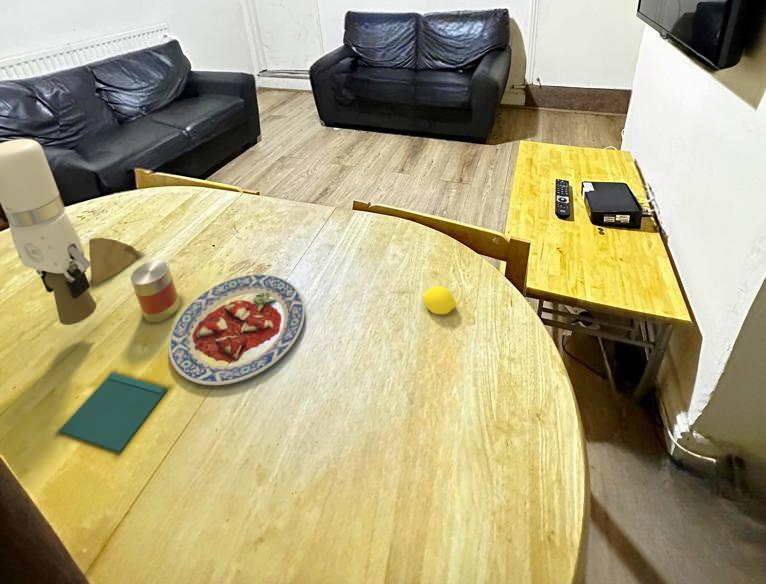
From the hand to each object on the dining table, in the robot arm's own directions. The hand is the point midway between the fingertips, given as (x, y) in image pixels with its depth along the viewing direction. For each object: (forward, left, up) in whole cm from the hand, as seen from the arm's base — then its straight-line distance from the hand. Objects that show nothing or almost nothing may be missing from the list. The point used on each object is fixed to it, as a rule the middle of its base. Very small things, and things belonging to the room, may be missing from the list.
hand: (68, 289), depth 78 cm
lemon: (+67, +22, -12) cm, 72 cm away
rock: (-10, +16, -12) cm, 23 cm away
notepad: (+18, -11, -12) cm, 25 cm away
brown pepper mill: (0, 0, -6) cm, 6 cm away
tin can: (+10, +8, -12) cm, 18 cm away
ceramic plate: (+29, +8, -12) cm, 33 cm away
